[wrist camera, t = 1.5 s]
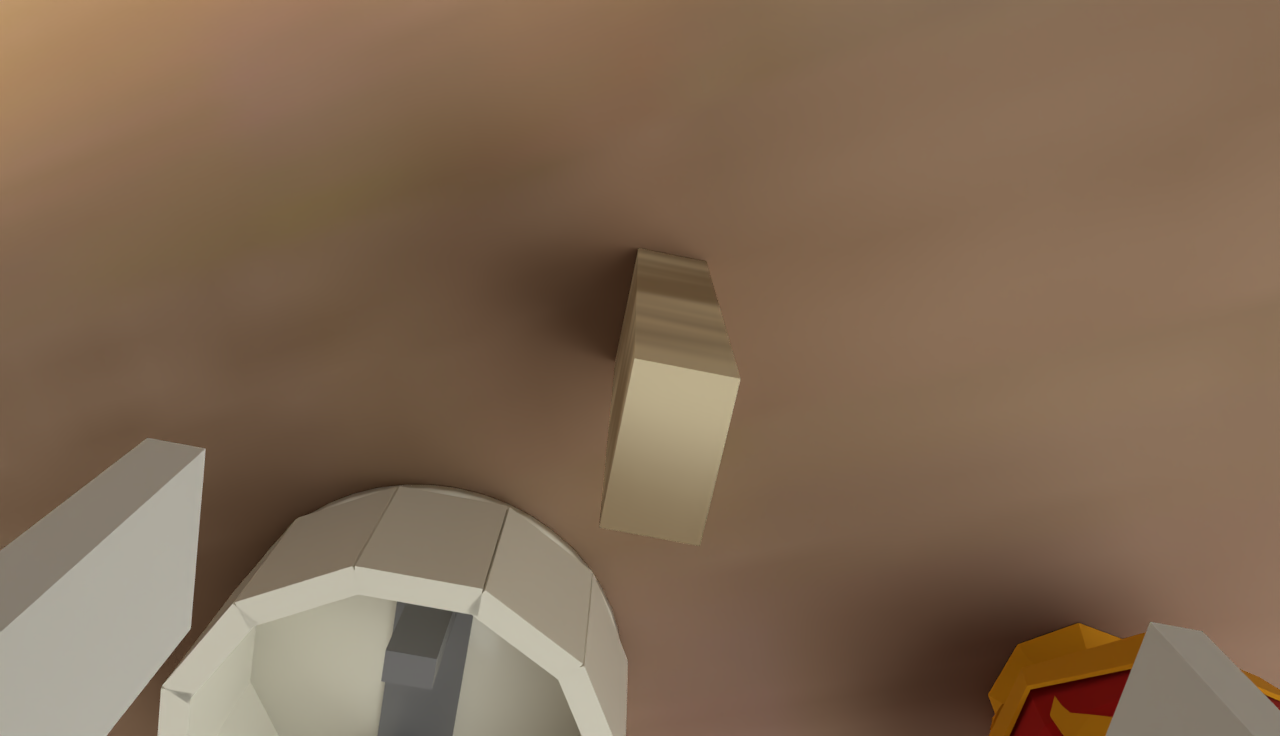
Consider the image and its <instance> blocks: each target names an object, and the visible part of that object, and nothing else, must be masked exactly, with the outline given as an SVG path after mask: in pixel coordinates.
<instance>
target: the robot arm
mask: <svg viewBox="0 0 1280 736" xmlns="http://www.w3.org/2000/svg"><path fill="white" fill-rule="evenodd" d="M205 451H206V448H200V447H195V446H189V445H184V444H179V443H173V442H168V441H162V440H157V439H151V438H146V439H145V440H144V441H143V442H141V443H140V444H139V445H137V446H136V447H135V448H133V449H132V450H131V451H129V452H128V453H127V454H126V455H124V456H123V457H122V458H120V459H119V460H118V461H116V462H115V463H114V464H113V465H111V466H110V467H109V468H107V469H106V470H105V471H103V472H102V473H101V474H100V475H98V476H97V477H96V478H94V479H93V480H92V481H90V482H89V483H88V484H87V485H85V486H84V487H83V488H81V489H80V490H79V491H77V492H76V493H75V494H73V495H72V496H71V497H70V498H68V499H67V500H66V501H64V502H63V503H62V504H60V505H59V506H58V507H57V508H55V509H54V510H53V511H51V512H50V513H49V514H47V515H46V516H45V517H44V518H42V519H41V520H40V521H38V522H37V523H36V524H34V525H33V526H32V527H31V528H29V529H28V530H27V531H25V532H24V533H23V534H21V535H20V536H19V537H17V538H16V539H15V540H14V541H12V542H11V543H10V544H8V545H7V546H6V547H4V548H3V549H2V550H1V551H0V736H107V734H108V733H109V732H110V731H111V729H112V728H113V727H114V725H115V724H116V723H117V722H118V720H119V719H120V718H121V717H122V715H123V714H124V713H125V712H126V710H127V709H128V708H129V706H130V705H131V704H132V703H133V701H134V700H135V699H136V698H137V696H138V695H139V694H140V693H141V691H142V690H143V689H144V687H145V686H146V685H147V684H148V682H149V681H150V680H151V679H152V677H153V676H154V675H155V674H156V672H157V671H158V670H159V668H160V667H161V666H162V665H163V663H164V662H165V661H166V660H167V658H168V657H169V656H170V655H171V653H172V652H173V651H174V649H175V648H176V647H177V646H178V644H179V643H180V642H181V641H182V639H183V638H184V637H185V636H186V634H187V633H188V632H189V630H190V629H191V620H192V608H193V596H194V584H195V572H196V560H197V548H198V536H199V523H200V511H201V499H202V487H203V475H204V463H205ZM1106 736H1280V710H1279V709H1278V708H1277V707H1276V706H1275V705H1274V704H1273V703H1272V702H1271V701H1270V700H1269V699H1268V698H1267V697H1266V696H1265V695H1264V694H1263V693H1262V692H1261V691H1260V690H1259V689H1258V688H1257V687H1256V685H1255V684H1254V683H1253V682H1252V681H1251V680H1250V679H1249V678H1248V677H1247V676H1246V675H1245V674H1244V673H1243V672H1242V671H1241V670H1240V669H1239V668H1238V667H1237V666H1236V665H1235V664H1234V663H1233V662H1232V661H1231V660H1230V659H1229V658H1228V657H1227V656H1226V655H1225V654H1224V653H1223V652H1222V651H1221V650H1220V649H1219V648H1218V647H1217V646H1216V645H1215V644H1214V643H1213V642H1212V641H1211V640H1210V639H1209V638H1208V637H1207V636H1206V635H1205V634H1204V633H1203V632H1202V631H1198V630H1193V629H1187V628H1182V627H1176V626H1171V625H1165V624H1160V623H1155V622H1150V623H1149V626H1148V629H1147V631H1146V634H1145V636H1144V639H1143V641H1142V644H1141V646H1140V649H1139V651H1138V654H1137V657H1136V659H1135V662H1134V664H1133V667H1132V669H1131V672H1130V674H1129V677H1128V680H1127V682H1126V685H1125V687H1124V690H1123V692H1122V695H1121V697H1120V700H1119V703H1118V705H1117V708H1116V710H1115V713H1114V715H1113V718H1112V720H1111V723H1110V726H1109V728H1108V731H1107V733H1106Z"/></svg>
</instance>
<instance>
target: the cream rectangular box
mask: <svg viewBox="0 0 1280 736" xmlns="http://www.w3.org/2000/svg"><path fill="white" fill-rule="evenodd" d="M739 383H740V375H739V372H738V368H737V365H736V362H735V358H734V355H733V351H732V348H731V344H730V341H729V338H728V334H727V331H726V327H725V324H724V321H723V317H722V314H721V310H720V307H719V303H718V300H717V297H716V293H715V290H714V286H713V283H712V280H711V276H710V273H709V269H708V266H707V262H706V261H701V260H696V259H691V258H686V257H681V256H676V255H671V254H666V253H661V252H656V251H651V250H646V249H641V248H638V251H637V256H636V261H635V266H634V271H633V276H632V281H631V286H630V291H629V296H628V301H627V306H626V311H625V315H624V320H623V325H622V330H621V335H620V340H619V345H618V350H617V355H616V360H615V367H614V378H613V388H612V399H611V409H610V420H609V430H608V441H607V451H606V462H605V472H604V482H603V493H602V503H601V514H600V524H599V528H604V529H609V530H614V531H620V532H625V533H631V534H636V535H641V536H647V537H652V538H658V539H663V540H669V541H674V542H679V543H685V544H690V545H696V546H700V544H701V540H702V536H703V532H704V527H705V523H706V519H707V515H708V511H709V507H710V503H711V499H712V495H713V490H714V486H715V482H716V478H717V474H718V470H719V466H720V462H721V457H722V453H723V449H724V445H725V441H726V437H727V433H728V429H729V425H730V420H731V416H732V412H733V408H734V404H735V400H736V396H737V392H738V387H739Z"/></svg>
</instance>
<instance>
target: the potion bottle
mask: <svg viewBox="0 0 1280 736" xmlns="http://www.w3.org/2000/svg"><path fill="white" fill-rule="evenodd" d="M1145 634H1146V632H1145V633H1142V634H1138V635H1135V636H1131V637H1128V638H1124V639H1121V638H1118V637H1115V636H1113V635H1110V634H1107V633H1105V632H1102V631H1099V630H1097V629H1094V628H1091V627H1089V626H1086V625H1083V624H1081V623H1077V624H1074V625H1071V626H1068V627H1065V628H1063V629H1060V630H1057V631H1054V632H1051V633H1049V634H1046V635H1043V636H1040V637H1037V638H1034V639H1032V640H1029V641H1026V642H1023V643H1020V644H1017V646H1016V648H1015V649H1014V651H1013V653H1012V655H1011V656H1010V658H1009V660H1008V661H1007V663H1006V665H1005V666H1004V668H1003V670H1002V672H1001V673H1000V675H999V677H998V678H997V680H996V682H995V683H994V685H993V687H992V689H991V690H990V692H989V694H988V696H989V699H990V702H991V704H992V707H993V710H994V712H995V715H994V716H993V717H992V724H991V728H990V730H991V732H990V734H989V736H1106V733H1107V731H1108V728H1109V726H1110V723H1111V720H1112V718H1113V715H1114V713H1115V710H1116V708H1117V705H1118V703H1119V700H1120V697H1121V695H1122V692H1123V690H1124V687H1125V685H1126V682H1127V680H1128V677H1129V674H1130V672H1131V669H1132V667H1133V664H1134V662H1135V659H1136V657H1137V654H1138V651H1139V649H1140V646H1141V644H1142V641H1143V639H1144V636H1145ZM1240 670H1241V669H1240ZM1241 671H1242V672H1243V673H1244V674H1245V675H1246V676H1247V677H1248V678H1249V679H1250V680H1251V681H1252V682H1253V683H1254V684H1255V685H1256V687H1257V688H1258V689H1259V690H1260V691H1261V692H1262V693H1263V694H1264V695H1265V696H1266V697H1267V698H1268V699H1269V700H1270V701H1271V702H1272V703H1273V704H1274V705H1275V706H1276V707H1277V708H1278V709H1279V710H1280V690H1279V689H1278V688H1276V687H1274V686H1273V685H1271V684H1269V683H1268V682H1266V681H1265V680H1263V679H1261V678H1260V677H1257V676H1255V675H1253V674H1250V673H1248V672H1246V671H1243V670H1241Z"/></svg>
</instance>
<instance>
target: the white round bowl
mask: <svg viewBox="0 0 1280 736" xmlns="http://www.w3.org/2000/svg"><path fill="white" fill-rule="evenodd" d="M627 677H628V660H627V658H626V655H625V652H624V650H623V647H622V645H621V642H620V638H619V631H618V627H617V624H616V621H615V618H614V614H613V611H612V608H611V606H610V604H609V601H608V599H607V597H606V595H605V593H604V591H603V589H602V587H601V585H600V584H599V582H598V580H597V579H596V577H595V576H594V573H592V571H591V570H590V568H589V567H588V566H587V564H586V563H585V562H584V561H583V560H582V559H581V557H580V556H579V555H578V554H577V553H576V552H575V551H574V549H573V548H572V547H571V546H570V545H568V544H567V543H566V542H565V541H564V540H563V539H562V538H561V537H560V536H558V535H557V534H556V533H555V532H554V531H553V530H551V529H550V528H548V527H547V526H545V525H544V524H543V523H541V522H540V521H538V520H537V519H535V518H534V517H532V516H531V515H529V514H527V513H525V512H523V511H521V510H519V509H517V508H515V507H513V506H511V505H510V504H507V503H505V502H502V501H499V500H497V499H494V498H492V497H489V496H486V495H484V494H480V493H476V492H472V491H467V490H463V489H459V488H453V487H445V486H437V485H396V486H388V487H379V488H375V489H371V490H367V491H362V492H358V493H354V494H351V495H349V496H346V497H344V498H341V499H338V500H336V501H333V502H331V503H328V504H327V505H325V506H323V507H321V508H319V509H318V510H316V511H314V512H312V513H310V514H308V515H305V516H302V517H299V518H297V519H295V521H294V522H293V523H292V524H291V525H290V526H289V528H288V529H287V530H286V531H285V532H284V533H283V535H282V536H281V537H280V538H279V539H278V540H277V541H276V542H275V543H274V544H273V545H272V546H271V548H270V549H269V550H268V552H267V553H266V554H265V556H264V557H263V558H262V559H261V560H260V561H259V563H258V564H257V565H256V566H255V567H254V568H253V570H252V571H251V572H250V573H249V574H248V575H247V577H246V578H245V579H244V580H243V581H242V582H241V584H240V585H239V586H238V587H237V588H236V589H235V590H234V592H233V593H232V594H231V596H230V597H229V598H228V600H227V601H226V602H225V604H224V605H223V606H222V608H221V609H220V610H219V611H218V613H217V614H216V615H215V617H214V618H213V619H212V621H211V622H210V623H209V625H208V626H207V627H206V629H205V630H204V631H203V633H202V634H201V635H200V636H199V638H198V639H197V640H196V642H195V643H194V644H193V646H192V647H191V648H190V650H189V651H188V652H187V654H186V655H185V656H184V658H183V659H182V660H181V661H180V663H179V664H178V665H177V667H176V668H175V669H174V671H173V672H172V673H171V675H170V676H169V677H168V679H167V680H166V681H165V682H164V684H163V685H162V687H161V695H160V710H159V724H158V736H626V713H627Z"/></svg>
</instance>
